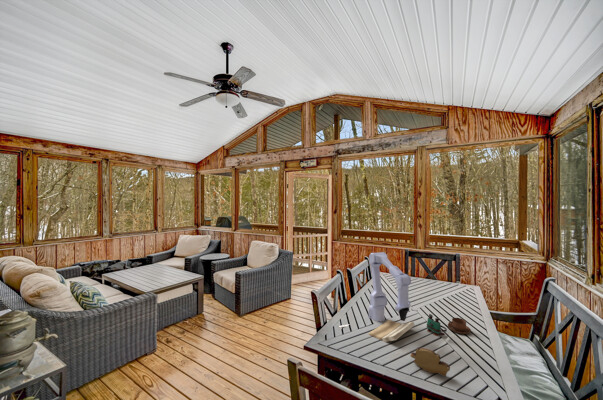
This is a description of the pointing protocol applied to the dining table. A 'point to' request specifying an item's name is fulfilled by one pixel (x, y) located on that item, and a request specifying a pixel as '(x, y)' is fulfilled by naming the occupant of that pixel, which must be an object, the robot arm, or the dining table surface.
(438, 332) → the binoculars
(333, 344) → the dining table surface
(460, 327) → the brown cowboy hat
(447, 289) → the dining table surface
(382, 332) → the board
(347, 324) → the cell phone
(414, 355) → the wooden carving
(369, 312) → the robot arm
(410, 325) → the maple plank
